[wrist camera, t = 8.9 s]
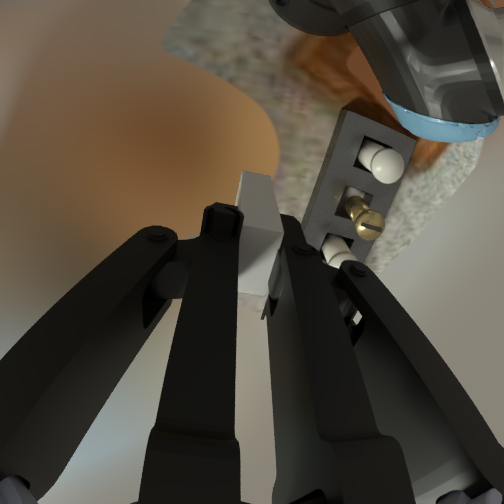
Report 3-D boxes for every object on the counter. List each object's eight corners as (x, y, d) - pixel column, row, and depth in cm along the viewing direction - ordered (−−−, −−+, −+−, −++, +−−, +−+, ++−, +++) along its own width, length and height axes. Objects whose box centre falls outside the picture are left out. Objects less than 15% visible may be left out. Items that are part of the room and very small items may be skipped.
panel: (341, 108, 38) (347, 110, 36) (407, 137, 40) (416, 140, 37) (288, 257, 51) (290, 266, 48) (349, 270, 53) (354, 280, 50)
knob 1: (324, 226, 47) (336, 252, 41) (348, 233, 48) (363, 258, 41) (314, 250, 50) (324, 278, 43) (338, 255, 50) (351, 283, 44)
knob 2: (359, 133, 40) (380, 144, 33) (384, 144, 40) (408, 157, 33) (349, 161, 42) (368, 177, 35) (374, 170, 42) (396, 188, 36)
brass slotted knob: (347, 189, 41) (365, 210, 35) (370, 197, 42) (390, 218, 36) (338, 213, 43) (353, 237, 37) (360, 220, 44) (378, 244, 38)
